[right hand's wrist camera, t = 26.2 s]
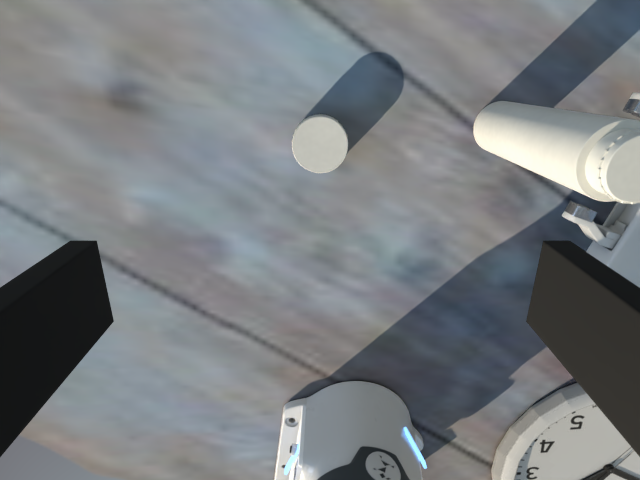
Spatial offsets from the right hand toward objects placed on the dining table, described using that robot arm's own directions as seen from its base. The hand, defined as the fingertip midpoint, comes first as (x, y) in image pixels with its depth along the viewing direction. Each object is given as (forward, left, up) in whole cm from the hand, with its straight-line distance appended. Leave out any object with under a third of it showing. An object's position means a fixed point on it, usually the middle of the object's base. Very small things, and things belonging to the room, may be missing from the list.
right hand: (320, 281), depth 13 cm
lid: (0, 0, -28) cm, 28 cm away
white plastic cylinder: (-3, +17, -30) cm, 35 cm away
